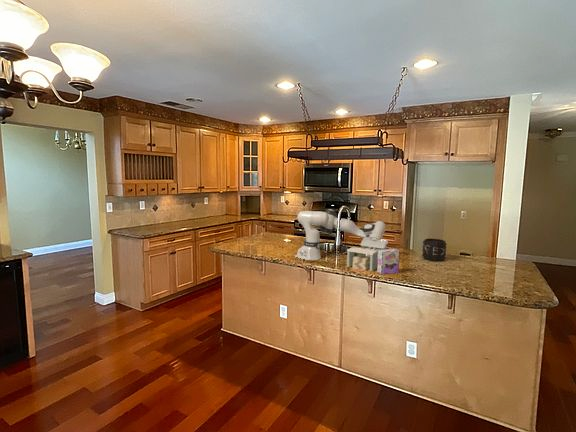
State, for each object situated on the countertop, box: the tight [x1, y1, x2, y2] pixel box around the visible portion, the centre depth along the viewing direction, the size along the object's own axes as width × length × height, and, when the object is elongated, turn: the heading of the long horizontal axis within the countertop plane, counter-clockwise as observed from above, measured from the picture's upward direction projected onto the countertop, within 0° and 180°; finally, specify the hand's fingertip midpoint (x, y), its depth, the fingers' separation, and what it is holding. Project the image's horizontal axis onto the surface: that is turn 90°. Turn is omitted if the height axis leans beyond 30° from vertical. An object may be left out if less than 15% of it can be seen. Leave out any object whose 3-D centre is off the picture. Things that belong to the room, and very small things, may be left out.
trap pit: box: [350, 267, 366, 272], centre depth 246 cm, size 10×2×1 cm, turn 54°
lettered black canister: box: [421, 238, 447, 263], centre depth 276 cm, size 18×18×16 cm
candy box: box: [376, 248, 400, 275], centre depth 239 cm, size 14×6×16 cm, turn 105°
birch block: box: [352, 254, 370, 271], centre depth 252 cm, size 10×10×8 cm
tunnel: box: [346, 246, 378, 272], centre depth 251 cm, size 20×10×13 cm, turn 54°
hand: (370, 253), depth 264 cm, fingers closed
